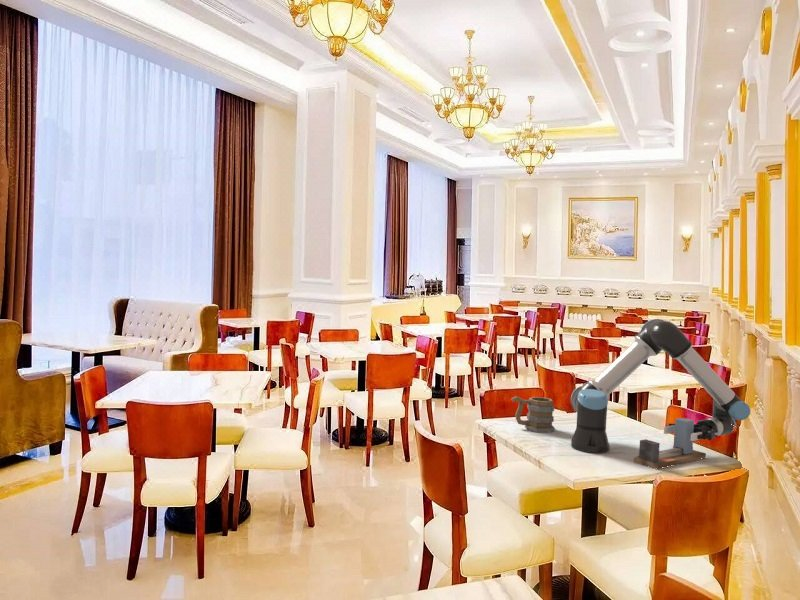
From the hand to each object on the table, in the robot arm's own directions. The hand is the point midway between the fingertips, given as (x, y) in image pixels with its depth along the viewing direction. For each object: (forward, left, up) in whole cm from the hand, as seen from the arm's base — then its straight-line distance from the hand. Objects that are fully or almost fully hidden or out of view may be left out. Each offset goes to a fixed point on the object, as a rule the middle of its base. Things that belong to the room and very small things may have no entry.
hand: (677, 433), depth 243 cm
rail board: (0, -4, -10) cm, 11 cm away
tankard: (-60, -19, -10) cm, 64 cm away
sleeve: (0, +4, -8) cm, 9 cm away
